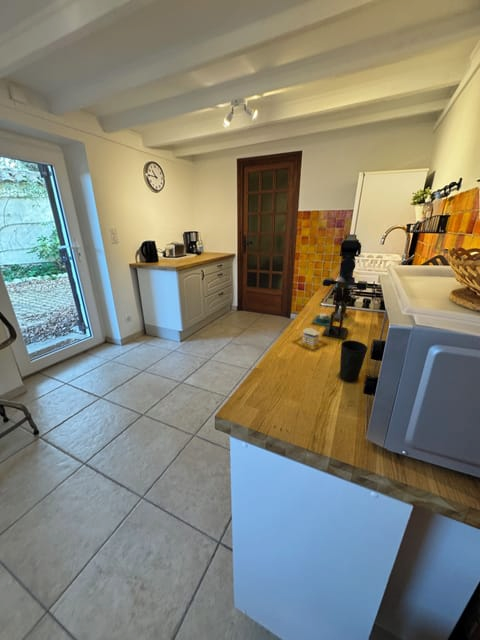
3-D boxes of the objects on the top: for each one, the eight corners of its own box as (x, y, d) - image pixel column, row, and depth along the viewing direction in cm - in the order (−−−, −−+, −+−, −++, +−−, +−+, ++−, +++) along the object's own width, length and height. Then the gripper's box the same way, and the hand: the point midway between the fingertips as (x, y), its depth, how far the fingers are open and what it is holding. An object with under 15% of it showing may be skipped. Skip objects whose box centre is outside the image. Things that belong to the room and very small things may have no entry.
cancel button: (320, 316, 131) (320, 313, 130) (327, 317, 130) (327, 314, 129) (318, 318, 128) (319, 315, 128) (326, 319, 127) (326, 316, 126)
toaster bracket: (327, 327, 124) (330, 308, 121) (347, 330, 120) (350, 311, 117) (322, 336, 114) (324, 316, 111) (343, 340, 110) (346, 320, 107)
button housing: (316, 318, 136) (317, 312, 135) (332, 320, 132) (333, 315, 131) (312, 324, 128) (312, 319, 126) (328, 327, 124) (329, 321, 123)
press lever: (338, 304, 123) (339, 299, 121) (345, 305, 122) (346, 300, 120) (332, 321, 115) (333, 316, 113) (340, 322, 114) (340, 317, 112)
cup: (356, 371, 88) (362, 340, 84) (364, 384, 81) (371, 352, 77) (334, 370, 89) (338, 339, 85) (339, 383, 82) (345, 351, 78)
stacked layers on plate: (325, 344, 108) (327, 332, 106) (312, 350, 102) (314, 338, 100) (306, 336, 115) (307, 325, 113) (293, 342, 110) (294, 330, 108)
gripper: (322, 269, 112) (318, 303, 118) (368, 273, 104) (362, 309, 109) (327, 265, 121) (323, 297, 127) (370, 269, 113) (364, 302, 118)
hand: (342, 301), depth 120 cm, fingers closed
